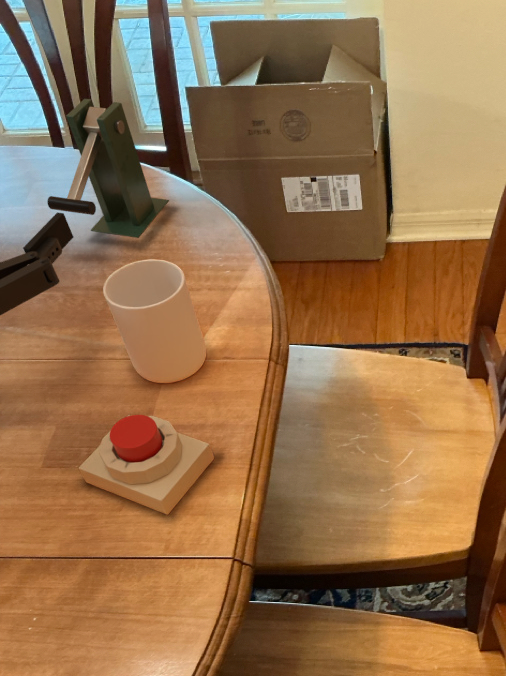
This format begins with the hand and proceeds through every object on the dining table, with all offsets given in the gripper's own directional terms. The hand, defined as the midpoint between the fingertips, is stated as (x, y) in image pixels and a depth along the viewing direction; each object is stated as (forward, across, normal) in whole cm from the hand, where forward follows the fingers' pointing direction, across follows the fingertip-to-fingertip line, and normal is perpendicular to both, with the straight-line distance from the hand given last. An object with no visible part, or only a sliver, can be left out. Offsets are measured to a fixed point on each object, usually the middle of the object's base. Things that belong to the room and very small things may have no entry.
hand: (9, 216), depth 82 cm
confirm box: (-20, +22, -13) cm, 33 cm away
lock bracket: (+20, 0, -13) cm, 23 cm away
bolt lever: (+16, 0, -3) cm, 16 cm away
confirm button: (-20, +22, -9) cm, 31 cm away
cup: (-2, +16, -13) cm, 21 cm away
